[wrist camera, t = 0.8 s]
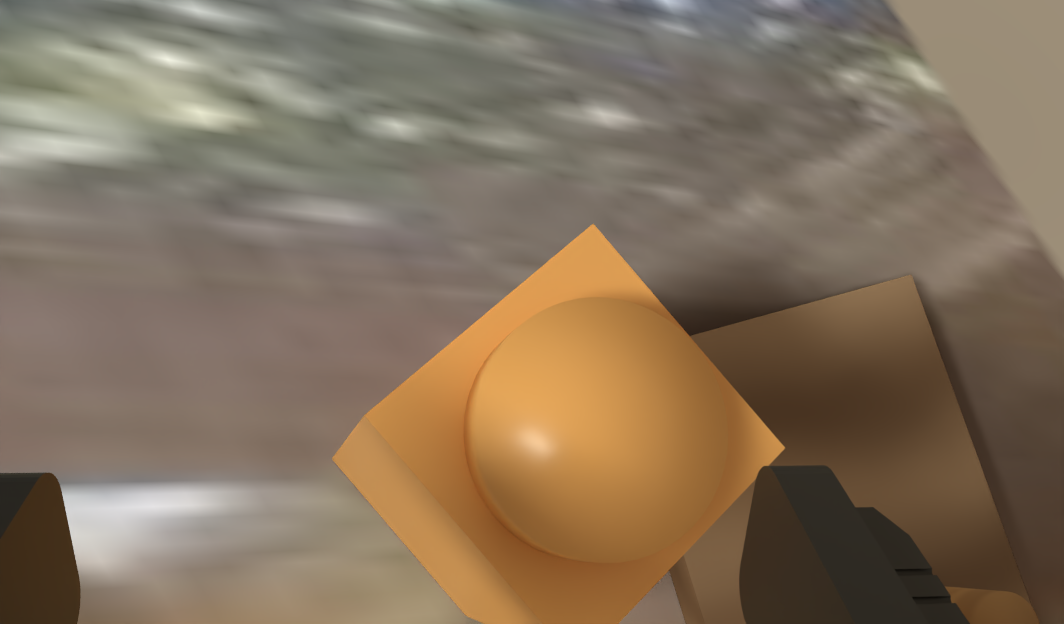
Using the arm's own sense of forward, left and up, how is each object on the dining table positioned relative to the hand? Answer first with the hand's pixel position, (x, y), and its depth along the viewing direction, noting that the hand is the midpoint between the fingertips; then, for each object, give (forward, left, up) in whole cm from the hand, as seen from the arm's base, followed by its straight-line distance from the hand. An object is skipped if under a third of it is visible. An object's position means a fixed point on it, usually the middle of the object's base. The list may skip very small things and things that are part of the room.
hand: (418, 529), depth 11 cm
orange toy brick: (-1, +4, -17) cm, 18 cm away
